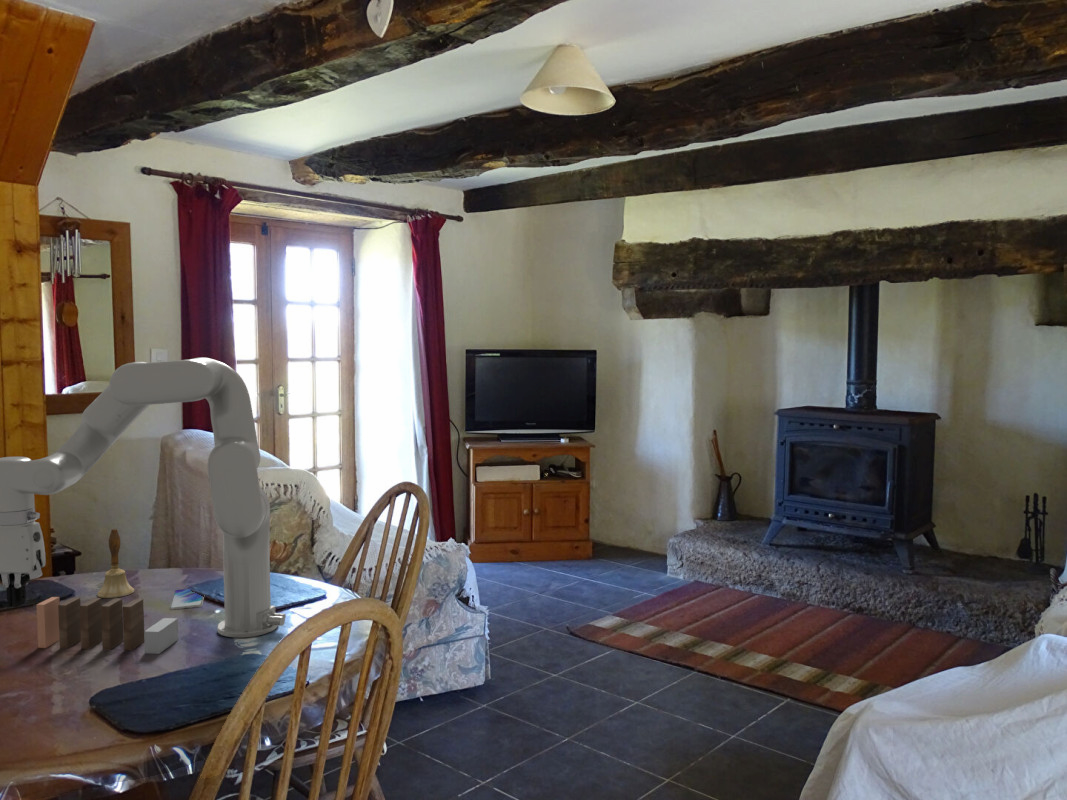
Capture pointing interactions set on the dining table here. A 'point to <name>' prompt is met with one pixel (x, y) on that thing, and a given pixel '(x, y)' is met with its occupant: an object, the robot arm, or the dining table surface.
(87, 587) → the dining table surface
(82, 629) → the domino
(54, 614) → the domino
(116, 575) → the hand bell
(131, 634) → the domino
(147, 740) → the dining table surface
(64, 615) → the domino
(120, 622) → the domino
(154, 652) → the block
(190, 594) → the smartphone
